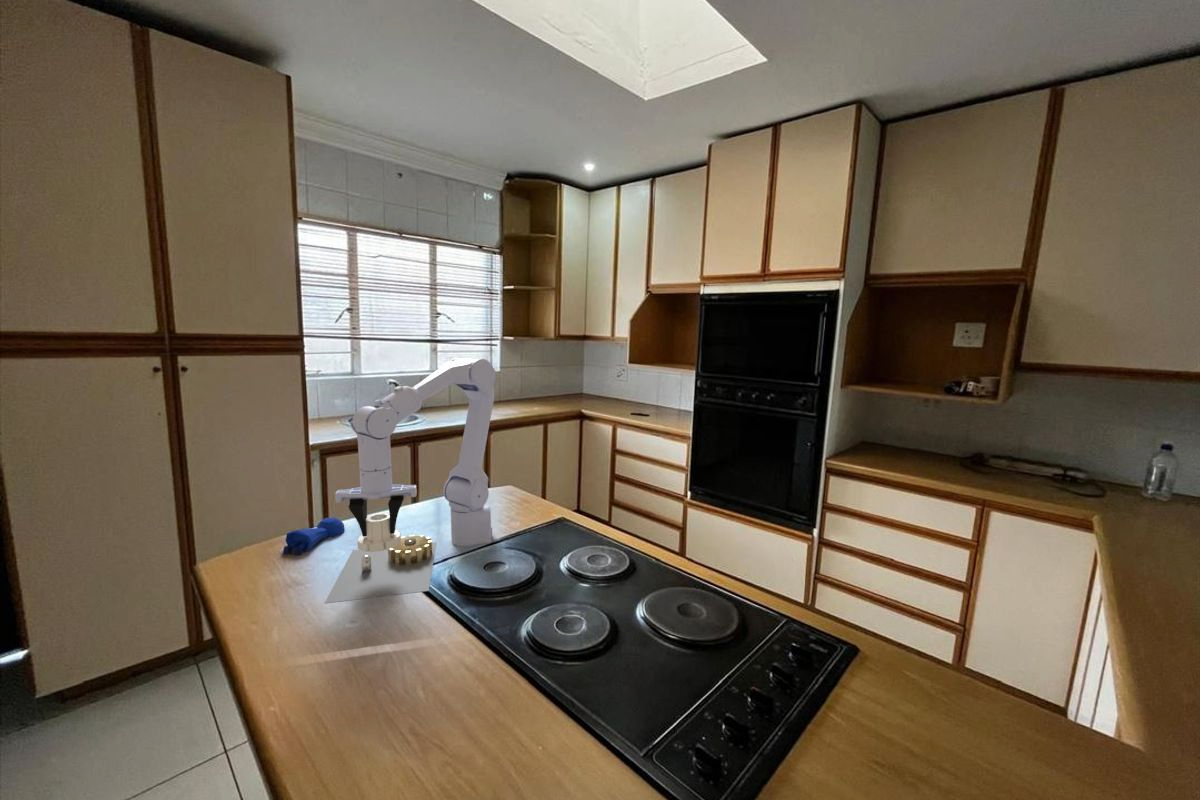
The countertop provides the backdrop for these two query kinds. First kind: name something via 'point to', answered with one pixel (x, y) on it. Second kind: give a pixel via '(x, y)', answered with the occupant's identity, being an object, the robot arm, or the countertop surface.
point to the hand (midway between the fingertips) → (379, 533)
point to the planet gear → (378, 534)
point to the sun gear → (411, 550)
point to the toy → (312, 535)
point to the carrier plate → (380, 577)
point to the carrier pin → (366, 564)
